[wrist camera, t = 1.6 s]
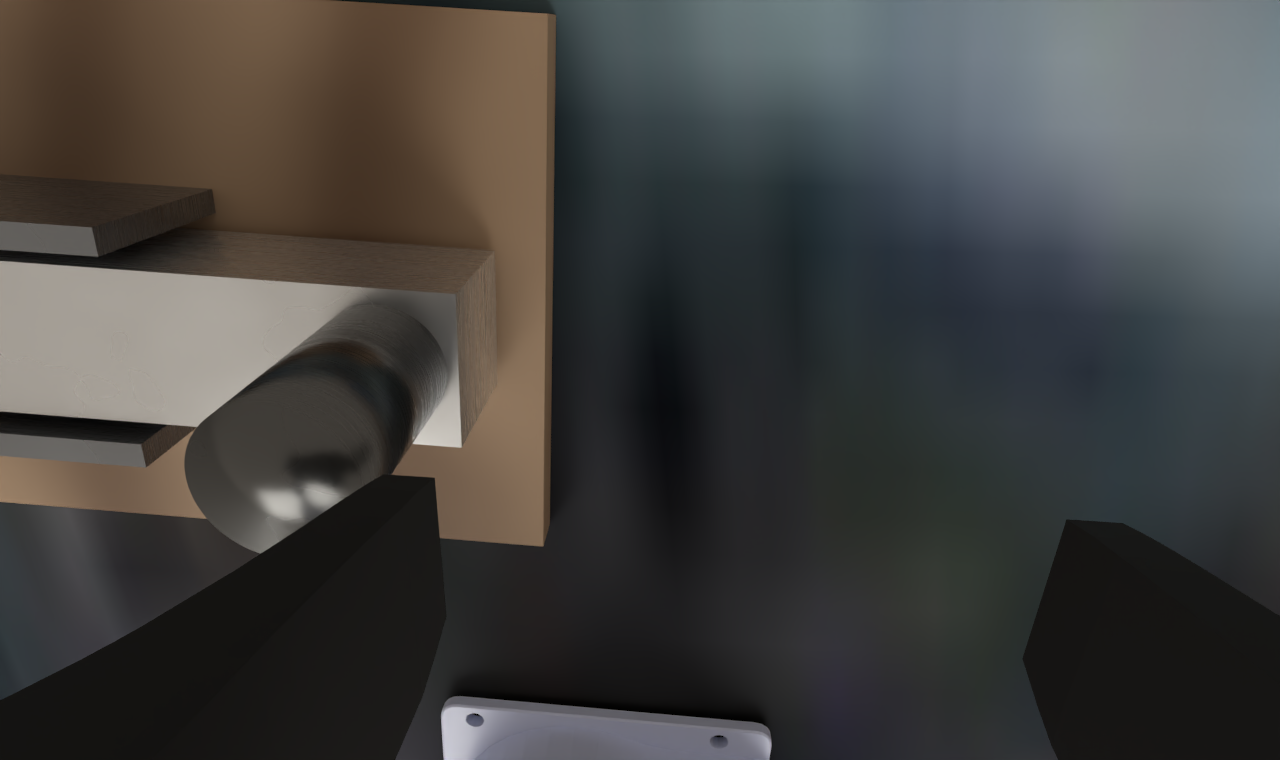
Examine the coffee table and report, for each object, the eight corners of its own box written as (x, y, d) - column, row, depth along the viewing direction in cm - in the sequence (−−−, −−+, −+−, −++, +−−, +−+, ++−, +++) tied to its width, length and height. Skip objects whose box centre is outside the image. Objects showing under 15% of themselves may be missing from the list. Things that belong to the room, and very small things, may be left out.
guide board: (556, 15, 16) (547, 13, 15) (549, 523, 20) (543, 546, 20) (-410, -45, 16) (-475, -49, 15) (-193, 462, 21) (-233, 482, 20)
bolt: (495, 250, 16) (367, 390, 10) (497, 382, 17) (385, 584, 11) (-68, 210, 17) (-545, 320, 10) (-28, 342, 18) (-430, 515, 11)
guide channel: (212, 188, 16) (92, 227, 13) (244, 389, 18) (146, 467, 15) (-67, 169, 17) (-256, 202, 13) (-7, 370, 18) (-160, 442, 15)
